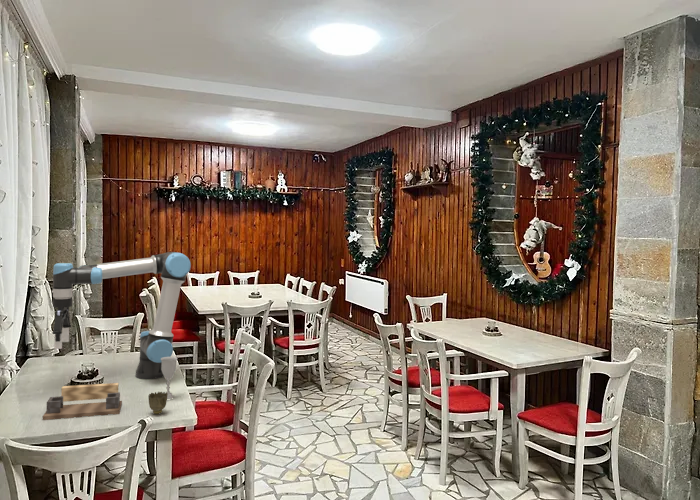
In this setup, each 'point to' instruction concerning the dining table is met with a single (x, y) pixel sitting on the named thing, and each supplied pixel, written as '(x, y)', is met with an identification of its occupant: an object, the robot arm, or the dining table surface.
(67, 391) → the slat
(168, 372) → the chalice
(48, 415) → the cradle
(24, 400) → the dining table surface
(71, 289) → the robot arm
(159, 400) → the cup
